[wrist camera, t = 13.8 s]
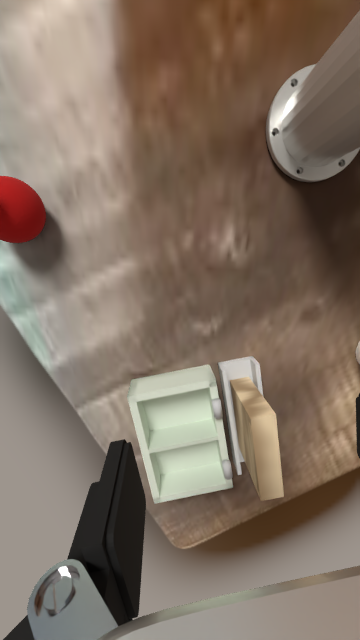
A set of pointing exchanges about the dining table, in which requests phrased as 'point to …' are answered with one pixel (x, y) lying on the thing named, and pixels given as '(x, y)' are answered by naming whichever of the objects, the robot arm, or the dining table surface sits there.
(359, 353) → the foam cup
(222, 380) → the cabinet
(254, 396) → the beige flat block
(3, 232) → the christmas ornament
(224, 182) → the dining table surface
